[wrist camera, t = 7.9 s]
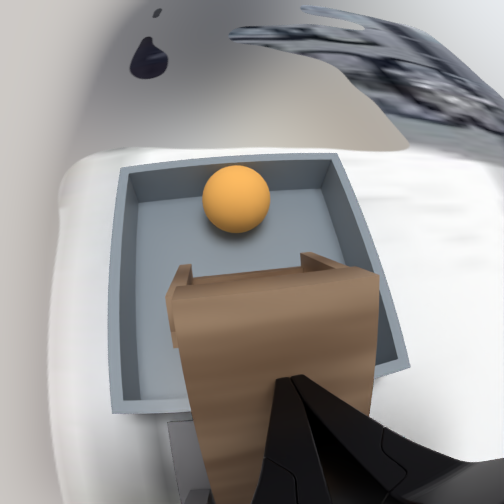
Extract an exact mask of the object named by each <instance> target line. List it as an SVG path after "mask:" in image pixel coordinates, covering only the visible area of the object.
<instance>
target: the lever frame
mask: <svg viewBox="0 0 504 504" xmlns="http://www.w3.org/2000/svg"><path fill="white" fill-rule="evenodd" d="M167 423H168V430H169V437H170V444H171V450H172V457H173V463H174V468H175V474H176V479H177V485H178V490H179V495H180V500H181V504H216V503H215V500H214V496H213V493H212V490H211V486H210V483H209V479H208V476H207V472H206V469H205V465H204V461H203V458H202V454H201V450H200V446H199V442H198V438H197V434H196V430H195V426H194V421H193V420H189V421H171V422H167Z"/></svg>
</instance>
